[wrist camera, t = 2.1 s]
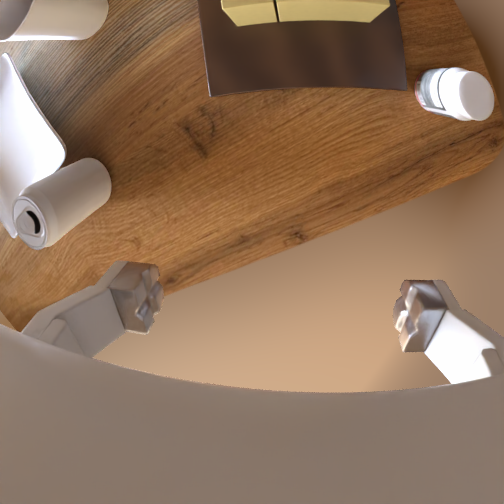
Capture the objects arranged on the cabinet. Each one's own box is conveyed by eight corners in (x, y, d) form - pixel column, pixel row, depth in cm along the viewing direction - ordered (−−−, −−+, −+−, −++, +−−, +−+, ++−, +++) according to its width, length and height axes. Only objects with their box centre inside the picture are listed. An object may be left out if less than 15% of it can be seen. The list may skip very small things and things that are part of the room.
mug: (116, 22, 21) (40, 7, 10) (73, 52, 22) (-4, 55, 12) (100, -33, 16) (34, -56, 6) (60, -3, 18) (-9, -11, 8)
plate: (84, 147, 29) (66, 154, 26) (25, 232, 37) (12, 242, 34) (20, 46, 21) (3, 48, 18) (-27, 144, 29) (-40, 150, 26)
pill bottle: (458, 89, 20) (505, 95, 13) (439, 122, 23) (484, 137, 15) (424, 60, 20) (468, 54, 12) (405, 94, 22) (445, 98, 15)
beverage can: (121, 200, 32) (59, 250, 22) (84, 208, 33) (24, 256, 23) (106, 149, 29) (33, 185, 18) (69, 163, 30) (1, 200, 20)
